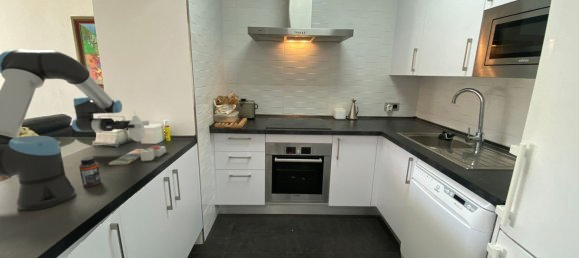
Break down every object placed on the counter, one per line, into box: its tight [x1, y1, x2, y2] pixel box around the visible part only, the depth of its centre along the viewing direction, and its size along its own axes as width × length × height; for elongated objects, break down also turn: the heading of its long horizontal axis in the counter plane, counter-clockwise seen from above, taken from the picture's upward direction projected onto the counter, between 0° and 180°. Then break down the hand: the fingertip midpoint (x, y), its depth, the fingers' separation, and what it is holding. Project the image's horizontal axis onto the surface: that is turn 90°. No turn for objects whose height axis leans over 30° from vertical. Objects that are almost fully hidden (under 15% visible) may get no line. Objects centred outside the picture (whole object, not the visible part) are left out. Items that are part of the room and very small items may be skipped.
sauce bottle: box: [128, 110, 146, 143], centre depth 140 cm, size 8×8×18 cm
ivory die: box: [140, 148, 155, 162], centre depth 132 cm, size 5×5×5 cm
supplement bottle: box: [78, 156, 102, 188], centre depth 101 cm, size 6×6×11 cm
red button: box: [149, 145, 160, 150], centre depth 140 cm, size 5×5×3 cm
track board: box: [108, 148, 144, 166], centre depth 136 cm, size 24×9×1 cm, turn 2°
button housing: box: [147, 145, 167, 158], centre depth 140 cm, size 8×8×4 cm
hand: (144, 124), depth 140 cm, fingers closed on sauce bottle, 7 cm apart
